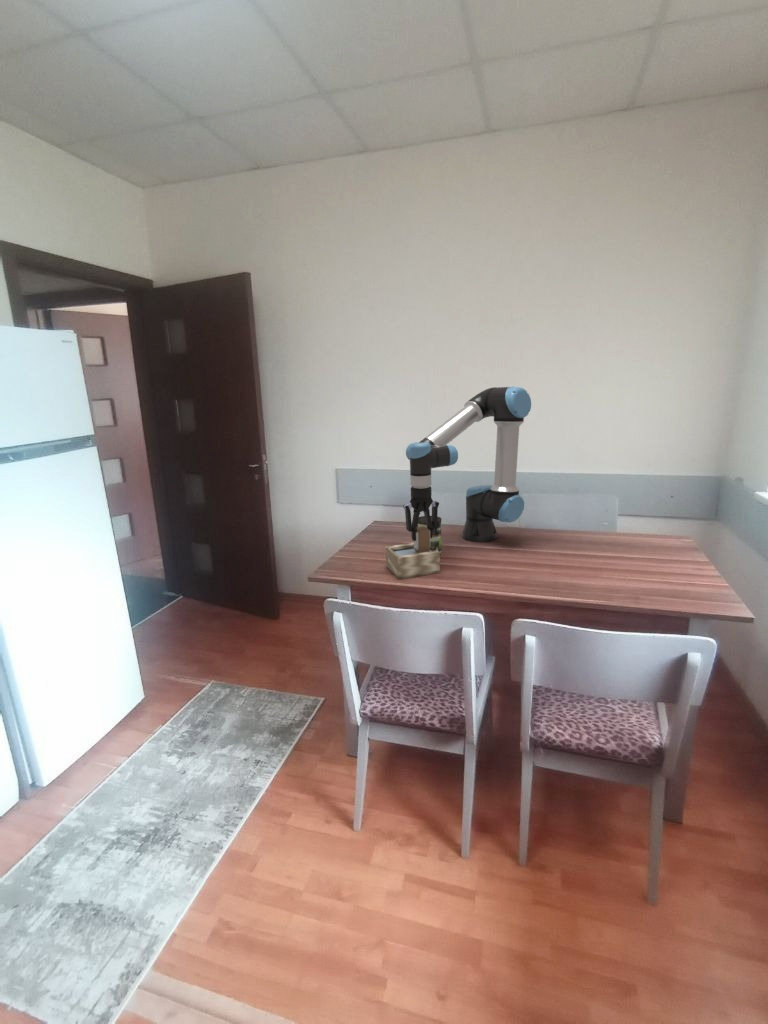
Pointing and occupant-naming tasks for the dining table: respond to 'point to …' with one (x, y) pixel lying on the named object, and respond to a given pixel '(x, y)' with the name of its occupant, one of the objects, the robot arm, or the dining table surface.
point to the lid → (423, 543)
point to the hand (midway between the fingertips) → (422, 547)
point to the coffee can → (433, 533)
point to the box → (412, 562)
